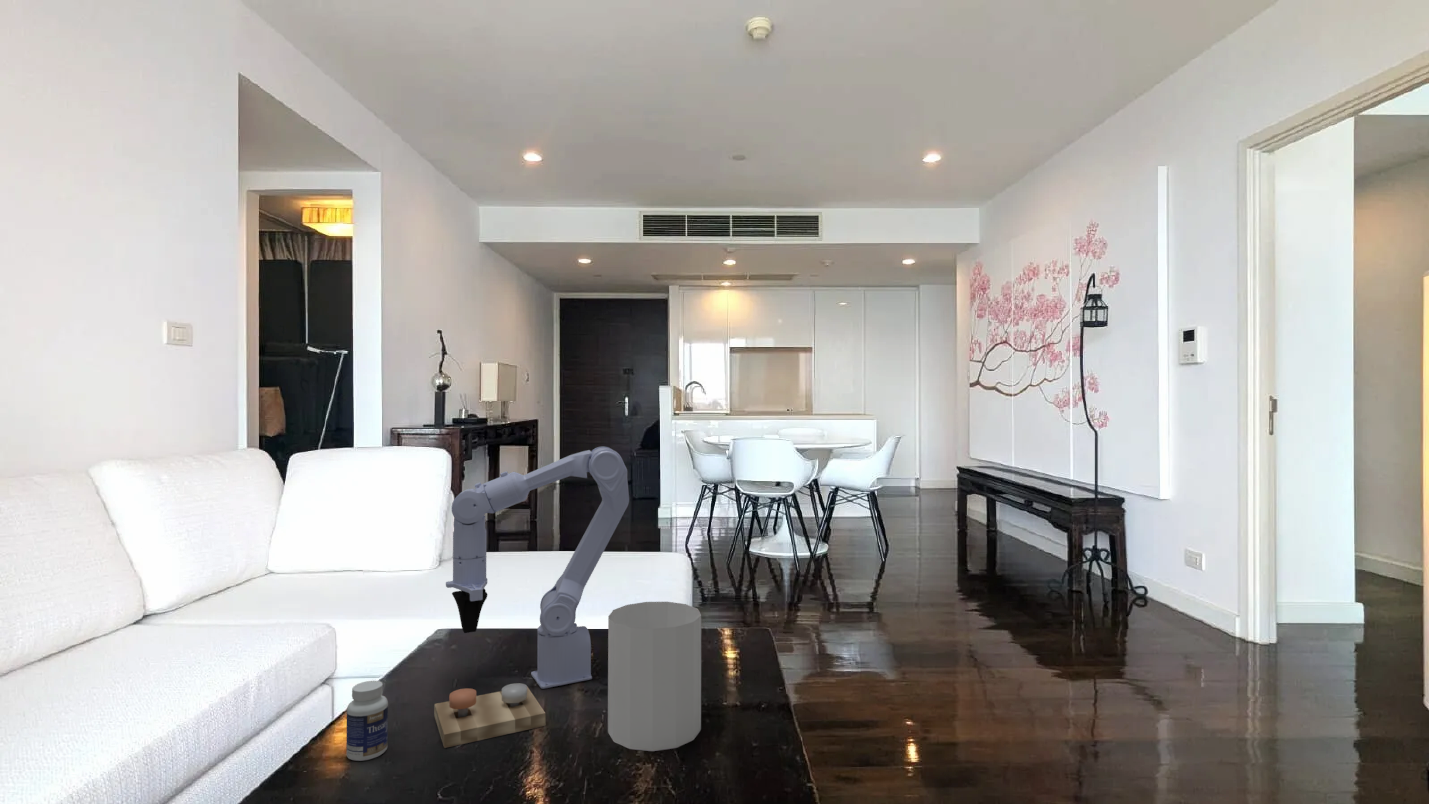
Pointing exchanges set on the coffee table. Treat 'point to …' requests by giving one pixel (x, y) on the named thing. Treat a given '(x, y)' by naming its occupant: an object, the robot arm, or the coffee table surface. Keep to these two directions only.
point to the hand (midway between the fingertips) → (469, 631)
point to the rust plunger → (462, 700)
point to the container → (654, 675)
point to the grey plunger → (514, 693)
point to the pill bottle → (367, 722)
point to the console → (487, 719)
